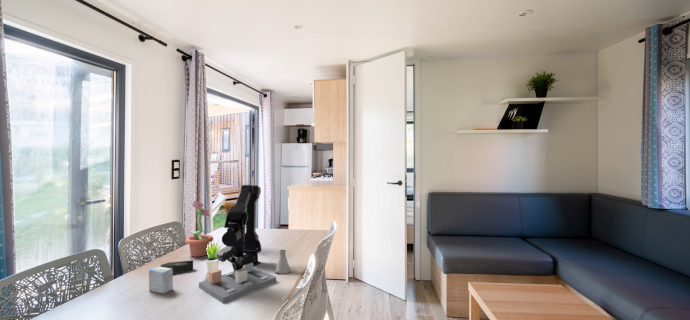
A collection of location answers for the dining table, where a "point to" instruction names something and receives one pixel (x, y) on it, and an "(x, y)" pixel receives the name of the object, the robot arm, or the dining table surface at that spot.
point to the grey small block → (248, 267)
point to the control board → (236, 285)
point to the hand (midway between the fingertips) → (237, 275)
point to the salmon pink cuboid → (215, 276)
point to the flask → (282, 263)
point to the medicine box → (160, 279)
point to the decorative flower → (199, 241)
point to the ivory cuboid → (240, 275)
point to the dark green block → (179, 266)
